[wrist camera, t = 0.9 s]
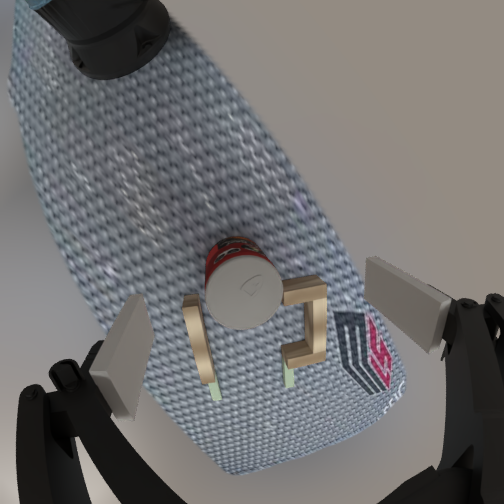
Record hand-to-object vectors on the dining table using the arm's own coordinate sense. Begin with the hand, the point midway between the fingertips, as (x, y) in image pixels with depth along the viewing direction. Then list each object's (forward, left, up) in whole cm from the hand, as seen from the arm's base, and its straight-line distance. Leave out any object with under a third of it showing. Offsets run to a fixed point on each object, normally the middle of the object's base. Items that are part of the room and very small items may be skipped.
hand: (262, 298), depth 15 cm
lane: (+14, +2, -22) cm, 26 cm away
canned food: (+4, 0, -22) cm, 22 cm away
